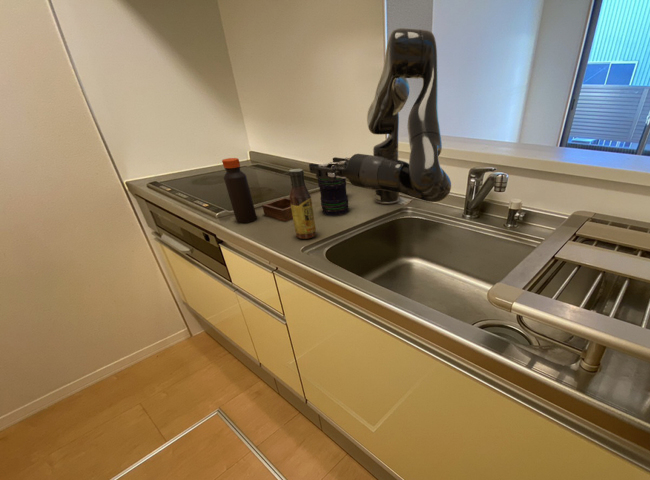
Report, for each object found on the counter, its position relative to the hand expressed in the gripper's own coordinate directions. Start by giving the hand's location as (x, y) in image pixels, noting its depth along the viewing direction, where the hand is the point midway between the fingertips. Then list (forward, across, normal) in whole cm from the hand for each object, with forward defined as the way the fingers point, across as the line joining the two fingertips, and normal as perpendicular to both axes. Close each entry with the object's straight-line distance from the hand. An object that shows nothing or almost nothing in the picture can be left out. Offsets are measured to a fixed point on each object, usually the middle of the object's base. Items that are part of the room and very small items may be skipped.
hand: (322, 164), depth 89 cm
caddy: (+32, -10, +22) cm, 41 cm away
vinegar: (+40, +1, +23) cm, 46 cm away
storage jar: (+19, -22, +23) cm, 37 cm away
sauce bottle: (+11, 0, +23) cm, 25 cm away
